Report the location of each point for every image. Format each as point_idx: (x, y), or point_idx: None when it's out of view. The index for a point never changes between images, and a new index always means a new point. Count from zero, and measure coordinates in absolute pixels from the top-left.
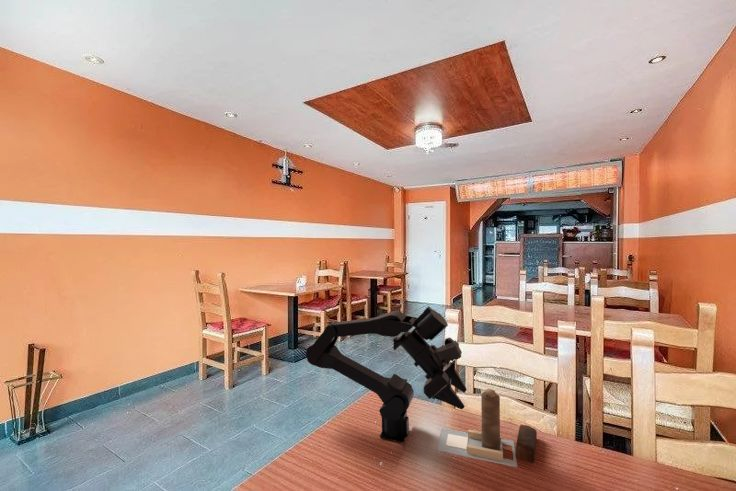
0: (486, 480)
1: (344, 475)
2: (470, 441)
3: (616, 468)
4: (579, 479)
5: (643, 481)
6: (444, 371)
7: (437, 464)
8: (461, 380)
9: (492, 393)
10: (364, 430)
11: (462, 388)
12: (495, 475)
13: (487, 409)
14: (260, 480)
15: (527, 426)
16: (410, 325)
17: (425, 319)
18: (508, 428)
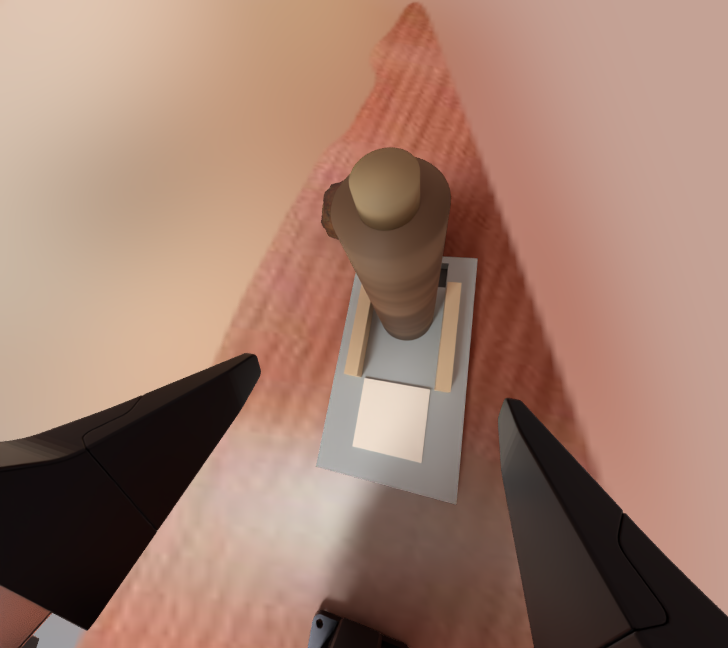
0: (534, 348)
1: None
2: (381, 372)
3: (407, 90)
4: (461, 150)
5: (437, 62)
6: (31, 598)
7: (503, 500)
8: (183, 382)
9: (417, 165)
10: None
11: (243, 381)
12: (503, 320)
13: (439, 260)
14: None
15: (332, 195)
16: None
17: None
18: (287, 260)
